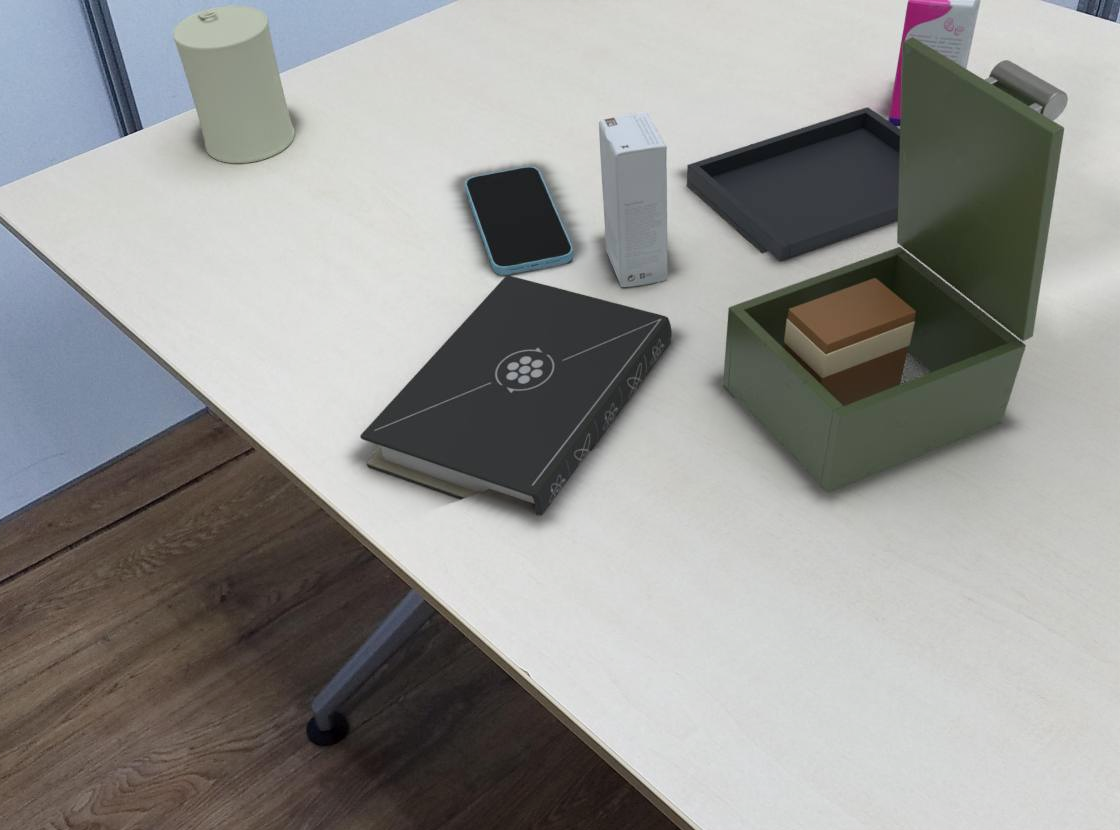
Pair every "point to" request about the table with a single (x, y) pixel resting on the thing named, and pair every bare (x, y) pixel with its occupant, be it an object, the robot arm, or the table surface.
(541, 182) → the smartphone
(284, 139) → the can
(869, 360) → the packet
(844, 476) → the green box base
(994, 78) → the lid
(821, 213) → the tray
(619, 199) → the cosmetic box
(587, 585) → the table surface
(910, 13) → the supplement box
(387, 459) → the book
